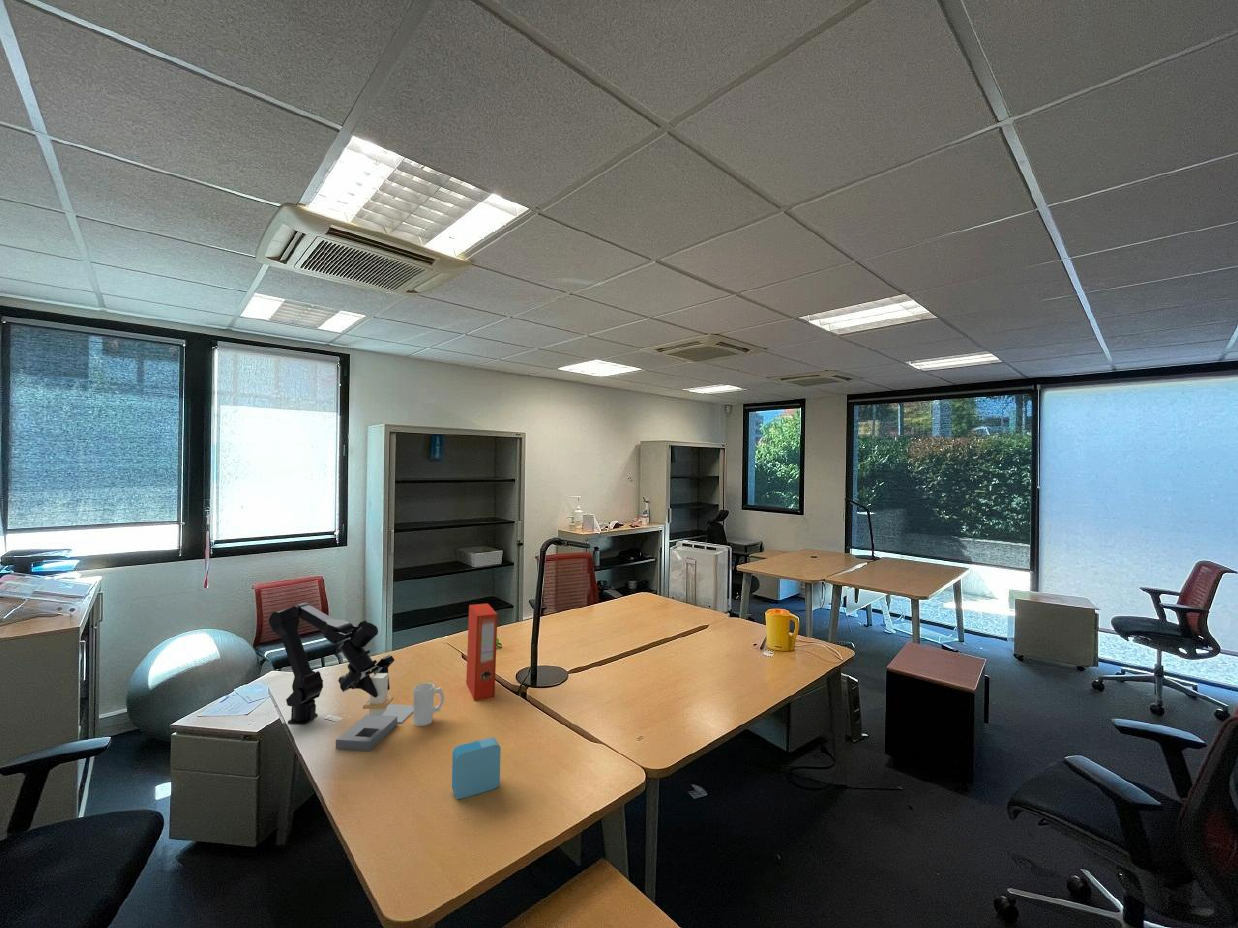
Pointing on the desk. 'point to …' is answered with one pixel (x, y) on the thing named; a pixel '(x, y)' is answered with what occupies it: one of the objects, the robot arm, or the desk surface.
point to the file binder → (481, 651)
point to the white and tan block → (379, 695)
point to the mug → (425, 703)
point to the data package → (475, 767)
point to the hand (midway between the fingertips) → (382, 693)
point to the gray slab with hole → (366, 732)
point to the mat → (399, 711)
